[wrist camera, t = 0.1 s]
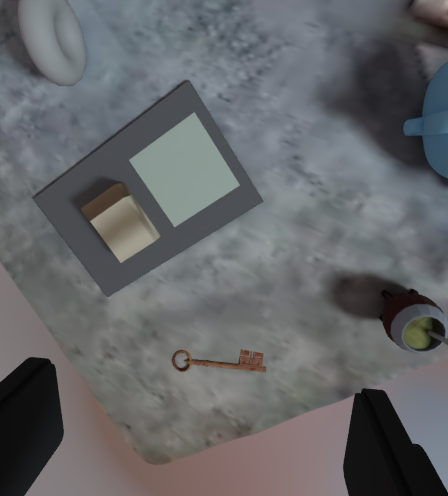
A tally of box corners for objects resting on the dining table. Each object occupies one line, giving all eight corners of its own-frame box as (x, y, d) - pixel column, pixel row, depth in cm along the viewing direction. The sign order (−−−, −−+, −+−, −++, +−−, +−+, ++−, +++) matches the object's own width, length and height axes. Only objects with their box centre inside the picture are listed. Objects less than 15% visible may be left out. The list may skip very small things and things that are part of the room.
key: (267, 345, 52) (174, 336, 53) (267, 348, 51) (172, 339, 52) (264, 378, 53) (173, 369, 54) (264, 382, 52) (172, 372, 53)
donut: (97, 92, 44) (51, 75, 34) (72, 94, 44) (20, 77, 34) (85, 4, 41) (31, -42, 31) (59, 7, 41) (-2, -38, 32)
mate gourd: (361, 305, 48) (404, 371, 33) (405, 268, 46) (472, 320, 31) (397, 337, 49) (454, 415, 34) (442, 302, 46) (523, 369, 32)
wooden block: (91, 205, 47) (80, 208, 44) (123, 182, 46) (114, 184, 43) (128, 256, 49) (120, 263, 46) (161, 236, 48) (154, 241, 45)
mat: (35, 198, 49) (33, 198, 48) (189, 80, 42) (188, 80, 41) (109, 295, 52) (107, 297, 51) (263, 200, 45) (263, 201, 45)
